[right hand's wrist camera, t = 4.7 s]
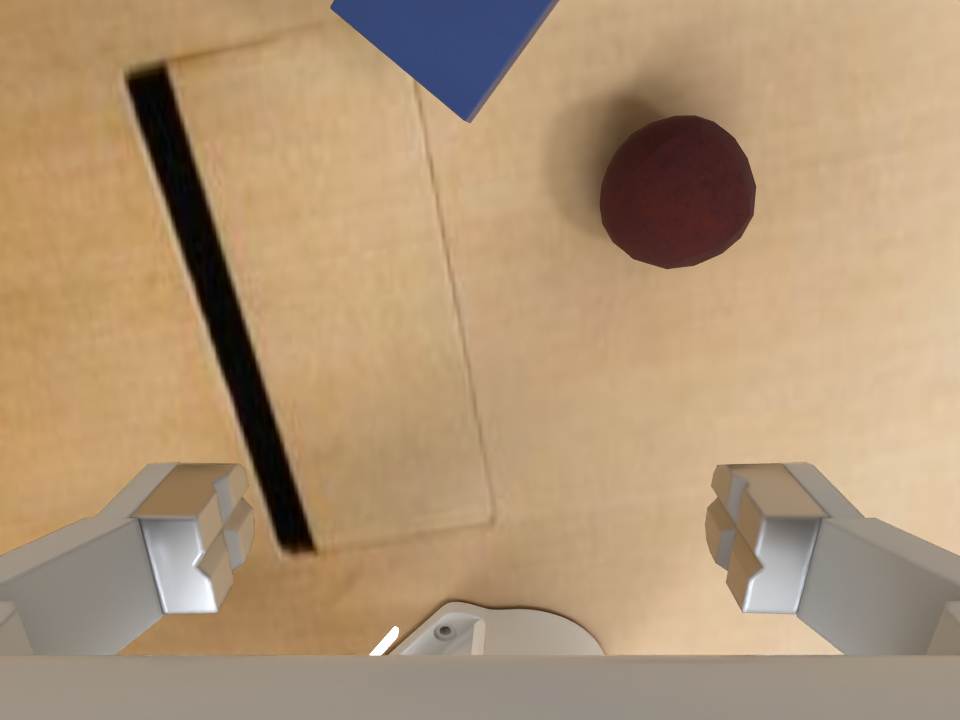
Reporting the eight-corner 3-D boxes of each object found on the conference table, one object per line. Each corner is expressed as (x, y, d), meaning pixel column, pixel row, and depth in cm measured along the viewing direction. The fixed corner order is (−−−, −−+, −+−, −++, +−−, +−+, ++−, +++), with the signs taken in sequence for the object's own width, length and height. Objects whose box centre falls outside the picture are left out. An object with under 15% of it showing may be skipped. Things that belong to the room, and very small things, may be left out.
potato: (675, 87, 32) (727, 77, 25) (745, 204, 34) (810, 223, 27) (562, 176, 33) (583, 188, 27) (636, 282, 35) (673, 317, 29)
